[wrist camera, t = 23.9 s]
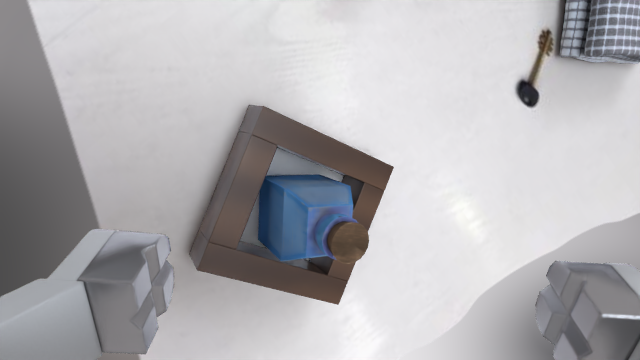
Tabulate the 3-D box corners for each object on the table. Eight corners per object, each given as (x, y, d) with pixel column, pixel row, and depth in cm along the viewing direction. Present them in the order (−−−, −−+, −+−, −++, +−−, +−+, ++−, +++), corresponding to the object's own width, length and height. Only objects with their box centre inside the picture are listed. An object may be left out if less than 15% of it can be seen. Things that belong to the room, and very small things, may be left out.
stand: (320, 288, 46) (338, 305, 42) (188, 254, 39) (197, 270, 35) (371, 161, 46) (394, 166, 42) (248, 104, 39) (263, 105, 35)
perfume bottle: (258, 239, 42) (310, 288, 31) (260, 175, 41) (314, 204, 30) (316, 234, 44) (382, 277, 34) (319, 174, 43) (388, 200, 33)
